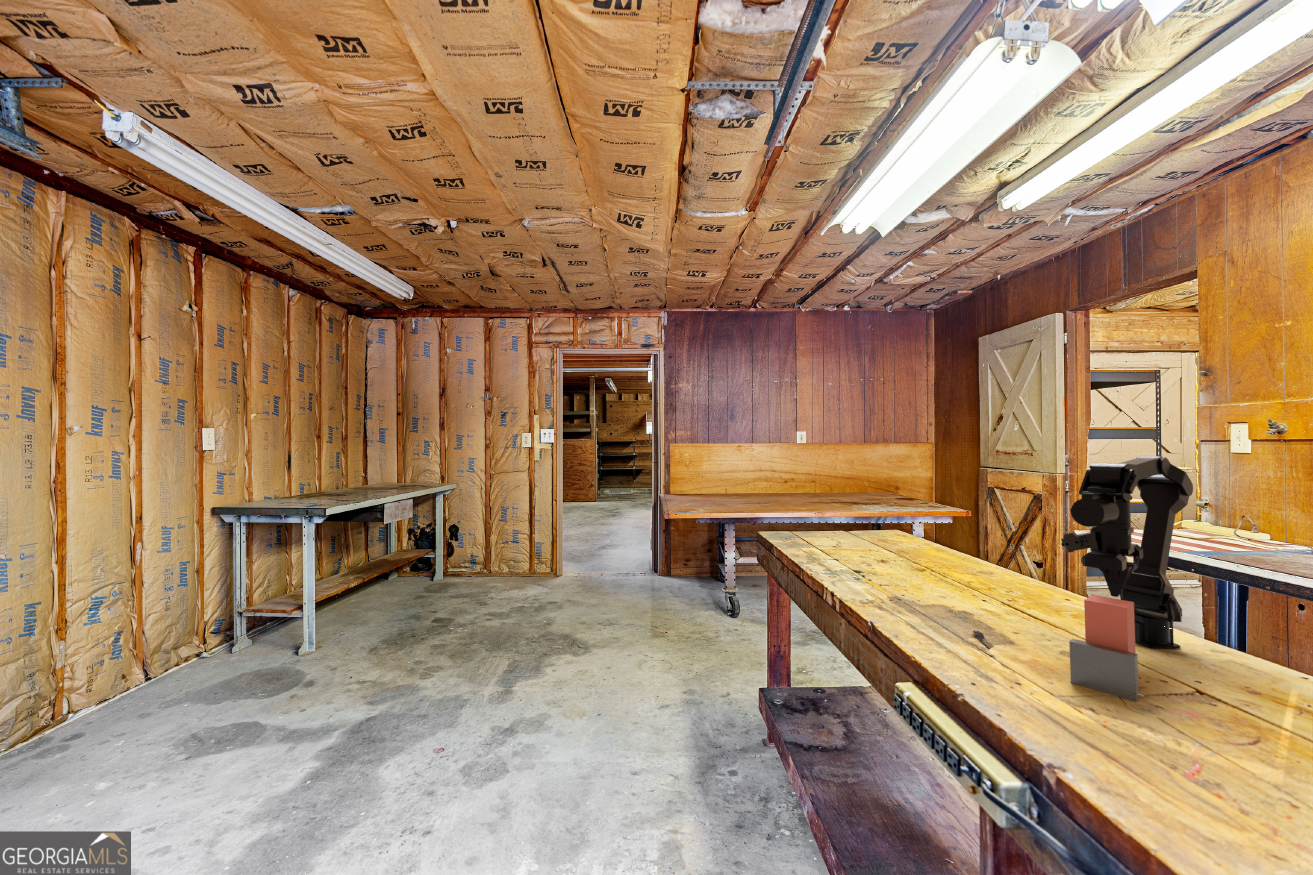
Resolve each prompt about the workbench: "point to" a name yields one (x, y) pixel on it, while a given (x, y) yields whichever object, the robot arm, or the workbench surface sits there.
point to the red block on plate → (1110, 622)
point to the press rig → (1104, 669)
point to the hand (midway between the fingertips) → (1114, 596)
